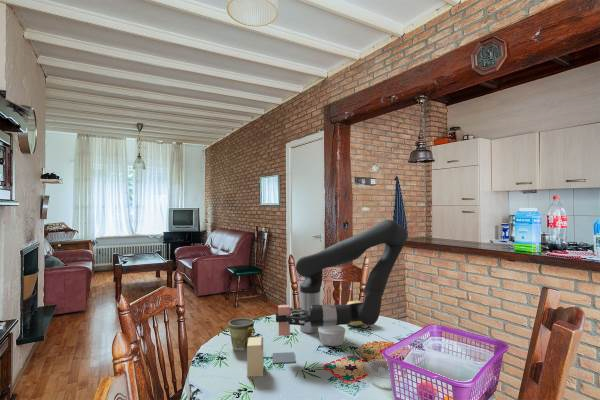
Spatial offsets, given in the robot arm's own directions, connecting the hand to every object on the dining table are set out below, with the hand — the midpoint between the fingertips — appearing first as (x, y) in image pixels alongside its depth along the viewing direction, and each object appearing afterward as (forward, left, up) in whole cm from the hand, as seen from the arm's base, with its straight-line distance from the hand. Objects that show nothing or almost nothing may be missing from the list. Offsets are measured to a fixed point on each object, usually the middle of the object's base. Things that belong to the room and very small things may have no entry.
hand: (276, 317), depth 121 cm
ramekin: (-7, +26, -15) cm, 31 cm away
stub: (+1, +3, -6) cm, 7 cm away
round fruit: (-23, +46, -15) cm, 54 cm away
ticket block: (+7, -9, -15) cm, 19 cm away
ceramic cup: (-13, -9, -15) cm, 22 cm away
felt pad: (+1, +3, -15) cm, 15 cm away
